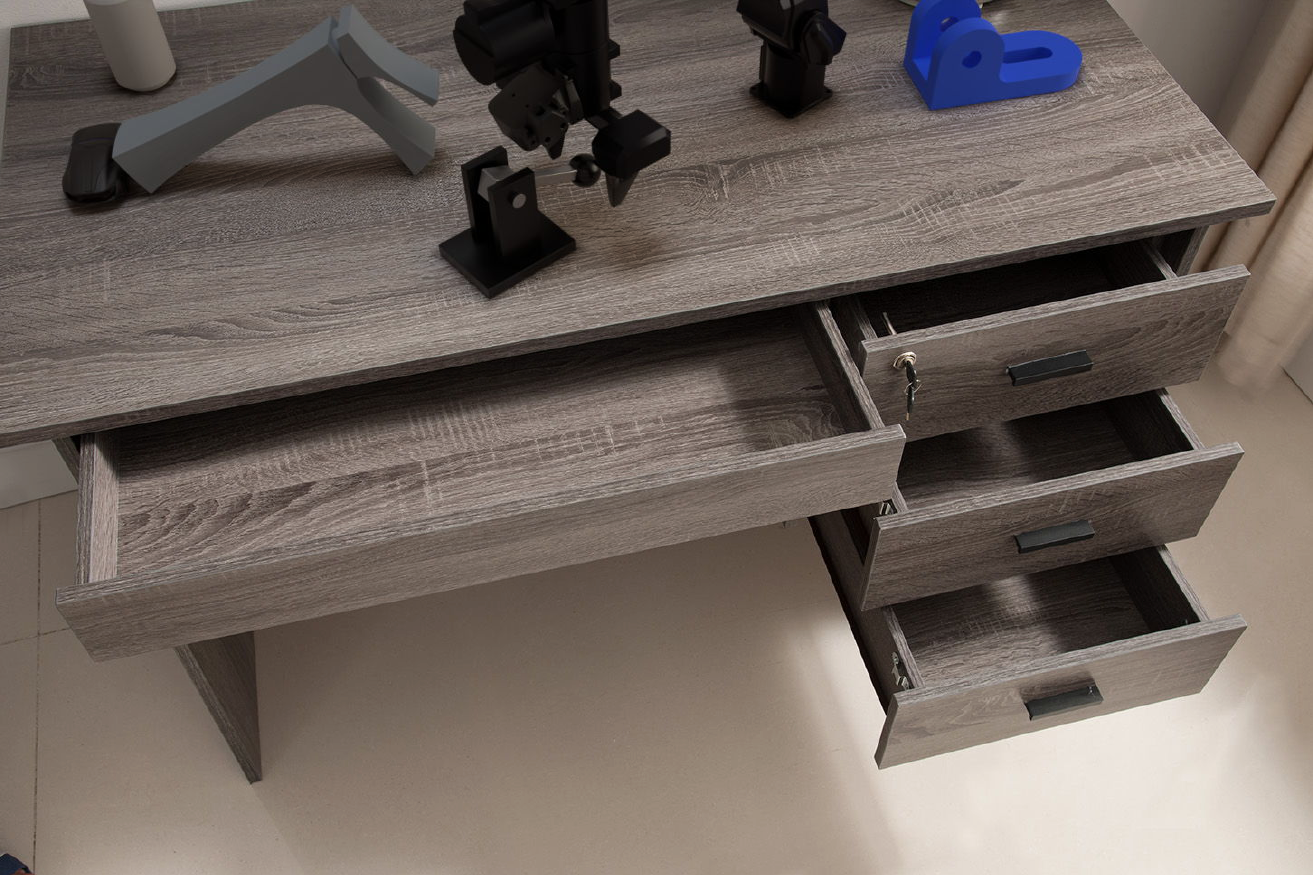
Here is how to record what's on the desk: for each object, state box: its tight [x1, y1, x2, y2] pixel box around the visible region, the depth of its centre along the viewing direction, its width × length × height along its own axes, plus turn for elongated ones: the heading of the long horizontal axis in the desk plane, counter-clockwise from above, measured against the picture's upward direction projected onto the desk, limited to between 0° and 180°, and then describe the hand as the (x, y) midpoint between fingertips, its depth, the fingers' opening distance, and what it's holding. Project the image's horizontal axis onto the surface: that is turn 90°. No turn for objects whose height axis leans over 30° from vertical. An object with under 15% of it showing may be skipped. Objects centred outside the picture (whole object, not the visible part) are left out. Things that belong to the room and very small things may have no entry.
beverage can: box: [82, 0, 177, 92], centre depth 128 cm, size 6×6×12 cm
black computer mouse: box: [61, 122, 130, 206], centre depth 121 cm, size 6×12×4 cm, turn 9°
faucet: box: [112, 3, 441, 194], centre depth 120 cm, size 6×17×30 cm
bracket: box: [902, 0, 1083, 111], centre depth 128 cm, size 18×8×9 cm, turn 103°
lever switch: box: [438, 144, 577, 300], centre depth 111 cm, size 10×8×10 cm
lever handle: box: [478, 152, 602, 202], centre depth 112 cm, size 13×3×3 cm, turn 131°
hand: (585, 181), depth 116 cm, fingers open, 9 cm apart
